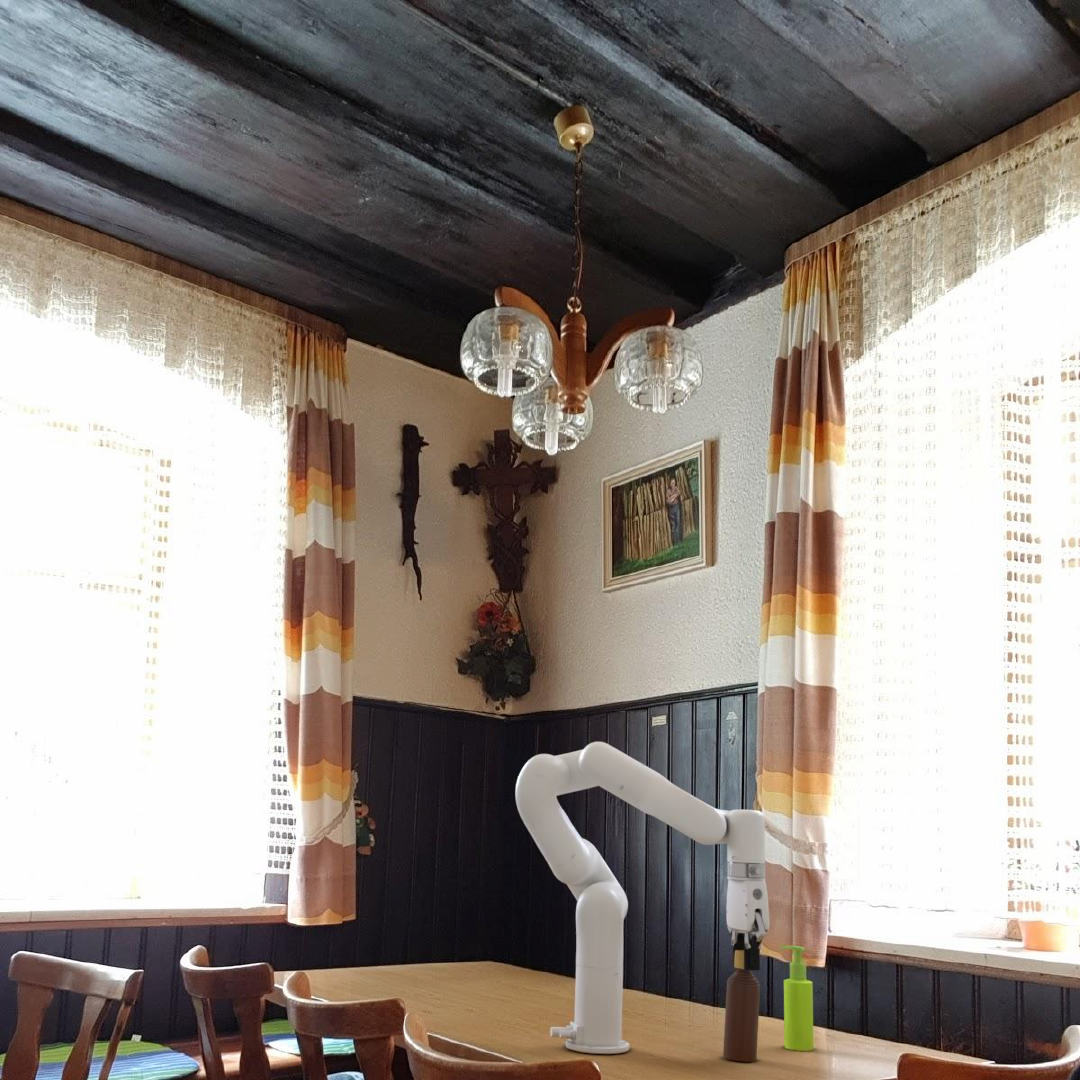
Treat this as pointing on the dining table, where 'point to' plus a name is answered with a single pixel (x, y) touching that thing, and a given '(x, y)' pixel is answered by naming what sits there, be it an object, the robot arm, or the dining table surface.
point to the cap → (739, 959)
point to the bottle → (741, 1017)
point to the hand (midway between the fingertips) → (746, 967)
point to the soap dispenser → (798, 1005)
